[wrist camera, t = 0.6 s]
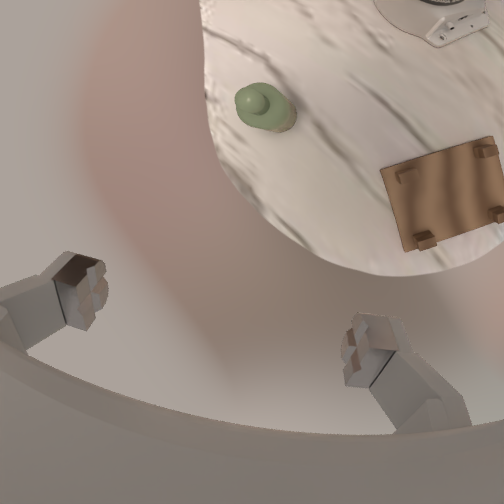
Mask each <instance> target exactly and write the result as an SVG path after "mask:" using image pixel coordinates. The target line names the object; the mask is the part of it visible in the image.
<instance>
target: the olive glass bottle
mask: <svg viewBox="0 0 504 504" xmlns="http://www.w3.org/2000/svg"><path fill="white" fill-rule="evenodd" d="M235 104H236V110H237V113H238V116H239V117H240V119H241V120H242V121H243V122H244V123H245V124H247V125H249V126H251V127H255V128H260V129H264V130H268V131H273V132H284V131H287V130H289V129H290V128H291V127H292V126H293V125H294V123H295V121H296V118H297V112H296V108H295V106H294V105H293V104H292V102H290V101H289V100H288V99H287V98H286V97H285V96H284V95H283V94H281V93H280V92H279V91H278V90H277V89H276V88H274V87H273V86H271V85H269V84H266V83H254V84H251V85H249V86H247V87H245V88H242V89H240V90H239V91H238V92H237V93H236V95H235Z"/></svg>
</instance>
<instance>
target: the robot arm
mask: <svg viewBox="0 0 504 504" xmlns="http://www.w3.org/2000/svg"><path fill="white" fill-rule="evenodd" d="M374 3H375V5H376V7H377V9H378V10H379V12H380V13H381V14H382V15H383V16H384V17H385V18H386V19H387V20H388V21H389V22H390V23H391V24H393V25H394V26H396V27H397V28H399V29H401V30H403V31H405V32H407V33H410V34H413V35H416V36H419V37H421V38H423V39H424V40H425V41H427V42H428V43H429V44H431V45H432V46H434V47H437V48H440V47H443V46H445V45H447V44H449V43H451V42H453V41H456V40H458V39H460V38H462V37H465V36H467V35H469V34H472V33H474V32H476V31H479V30H481V29H484V28H486V27H488V25H489V16H488V12H487V10H486V3H485V0H374ZM482 12H483V13H484V14H483V13H482ZM440 37H441V38H442V39H443V40H441V39H440ZM105 273H106V266H105V263H104V262H103V261H102V260H98V259H95V258H92V257H88V256H84V255H81V254H77V253H73V252H69V251H66V252H63V253H62V254H61V255H60V256H59V257H58V258H57V259H56V260H55V261H54V262H53V263H52V264H51V265H50V266H48V267H47V268H46V269H45V270H44V271H43V272H42V273H41V274H40V275H34V276H31V277H28V278H25V279H23V280H20V281H17V282H15V283H12V284H9V285H7V286H4V287H1V288H0V504H504V419H503V420H499V421H495V422H490V423H485V424H480V425H474V426H472V423H471V420H470V417H469V413H468V410H467V408H466V405H465V402H464V399H463V396H462V395H461V394H460V393H459V392H458V391H457V390H456V389H454V388H453V387H452V386H451V385H450V384H449V383H448V382H447V381H446V380H445V379H444V378H443V377H442V376H441V375H440V374H439V373H438V372H437V371H436V370H435V369H434V368H433V367H431V365H429V364H428V363H427V362H426V361H425V360H424V359H423V358H422V357H421V356H420V355H419V354H418V353H414V352H413V349H412V347H411V344H410V342H409V339H408V336H407V333H406V331H405V328H404V325H403V323H402V320H401V319H400V318H399V317H393V316H381V315H374V314H367V313H360V312H357V313H356V314H355V315H354V317H353V319H352V321H351V322H352V328H351V329H349V330H348V331H346V333H345V336H344V338H343V341H342V345H341V358H342V360H343V361H344V362H345V363H346V366H345V367H344V369H343V372H344V380H345V386H349V387H359V388H369V390H370V392H371V394H372V395H373V396H374V398H375V399H376V401H377V402H378V403H379V405H380V406H381V408H382V409H383V411H384V412H385V413H386V415H387V416H388V418H389V419H390V421H391V422H392V423H393V425H394V426H395V428H396V429H397V430H396V431H395V432H394V433H393V434H386V435H342V434H340V435H339V434H319V433H305V432H294V431H283V430H275V429H267V428H260V427H253V426H246V425H240V424H235V423H229V422H224V421H218V420H213V419H208V418H204V417H199V416H195V415H191V414H186V413H182V412H179V411H175V410H171V409H167V408H164V407H160V406H156V405H153V404H149V403H146V402H143V401H140V400H136V399H133V398H130V397H127V396H124V395H121V394H119V393H115V392H112V391H110V390H107V389H104V388H102V387H99V386H96V385H94V384H91V383H89V382H86V381H84V380H81V379H79V378H76V377H74V376H72V375H69V374H67V373H65V372H63V371H60V370H58V369H55V368H54V367H52V366H49V365H47V364H45V363H43V362H41V361H39V360H37V359H35V358H33V357H31V356H29V355H28V353H27V352H26V350H27V349H29V348H31V347H32V346H34V345H36V344H37V343H39V342H40V341H42V340H43V339H45V338H47V337H49V336H50V335H52V334H53V333H55V332H57V331H58V330H60V329H62V328H63V327H65V326H66V325H69V326H72V327H75V328H78V329H81V330H84V331H87V330H88V329H89V327H90V326H91V324H92V323H93V321H94V320H95V318H96V317H95V312H97V311H99V310H101V309H102V308H103V306H104V305H105V304H106V300H107V297H108V289H109V288H108V282H107V281H106V280H105V278H104V277H103V276H104V274H105Z"/></svg>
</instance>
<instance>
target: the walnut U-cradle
mask: <svg viewBox="0 0 504 504" xmlns="http://www.w3.org/2000/svg"><path fill="white" fill-rule="evenodd" d="M498 154H499V152H498V148H497V145H495V141H494V138H493V136H489V137H485V138H482V139H478V140H475V141H471V142H468V143H465V144H461V145H458V146H454V147H451V148H448V149H444V150H441V151H438V152H435V153H431V154H428V155H425V156H422V157H419V158H415V159H412V160H409V161H406V162H403V163H400V164H397V165H393V166H390V167H387V168H384V169H381V170H380V172H381V175H382V178H383V181H384V184H385V187H386V190H387V193H388V196H389V199H390V202H391V206H392V209H393V212H394V216H395V219H396V223H397V226H398V230H399V233H400V237H401V241H402V245H403V249H404V251H405V252H409V251H412V250H415V249H419V251H423V250H426V249H429V248H432V247H435V246H437V243H436V242H439V241H442V240H445V239H448V238H451V237H454V236H457V235H459V234H462V233H465V232H468V231H471V230H474V229H477V228H479V227H482V226H485V225H488V224H490V223H493V222H496V223H498V224H500V223H503V222H504V176H503V172H502V168H501V164H500V160H499V156H498Z"/></svg>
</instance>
